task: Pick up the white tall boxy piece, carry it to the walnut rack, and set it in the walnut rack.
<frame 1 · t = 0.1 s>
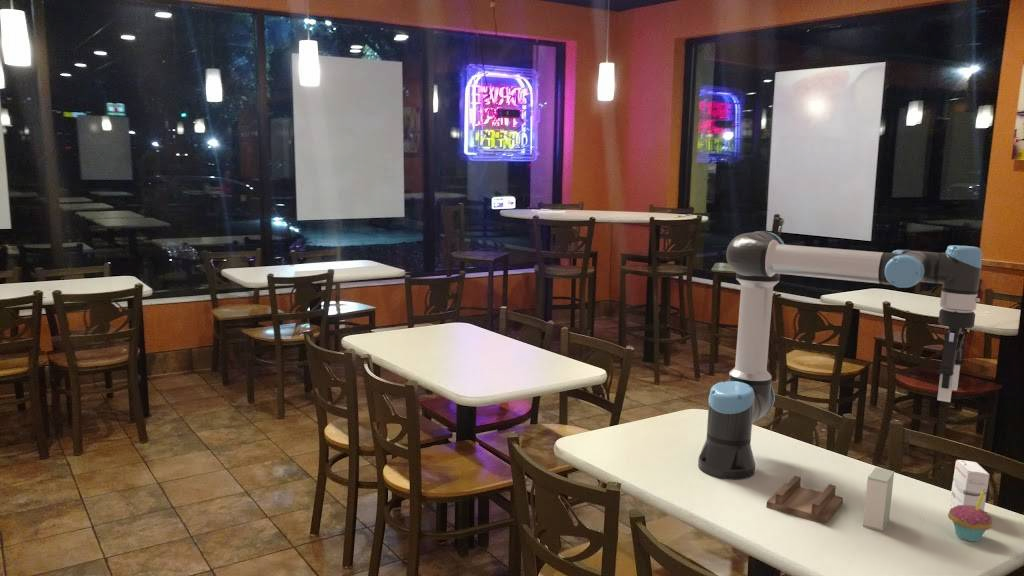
hand: (947, 395, 187), 28 cm above the table, tool pointing down, fingers open, 13 cm apart
white rectangular block: (966, 513, 186), on the table
white tall boxy piece: (876, 522, 179), on the table
cupcake: (967, 537, 173), on the table
walnut rack: (804, 505, 187), on the table
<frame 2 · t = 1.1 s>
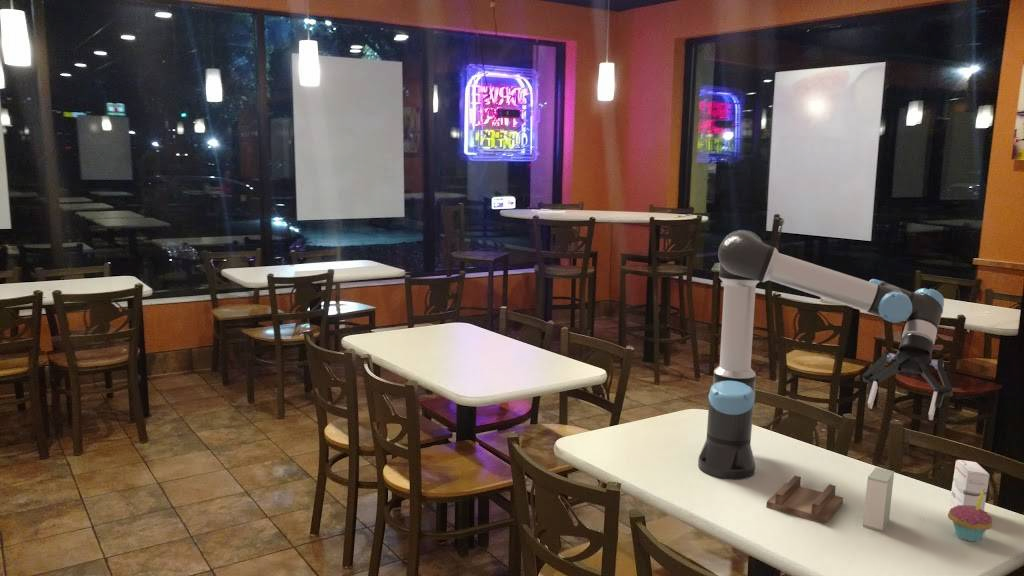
hand: (899, 411, 186), 24 cm above the table, tool tilted 45°, fingers open, 13 cm apart
nothing on the table moved.
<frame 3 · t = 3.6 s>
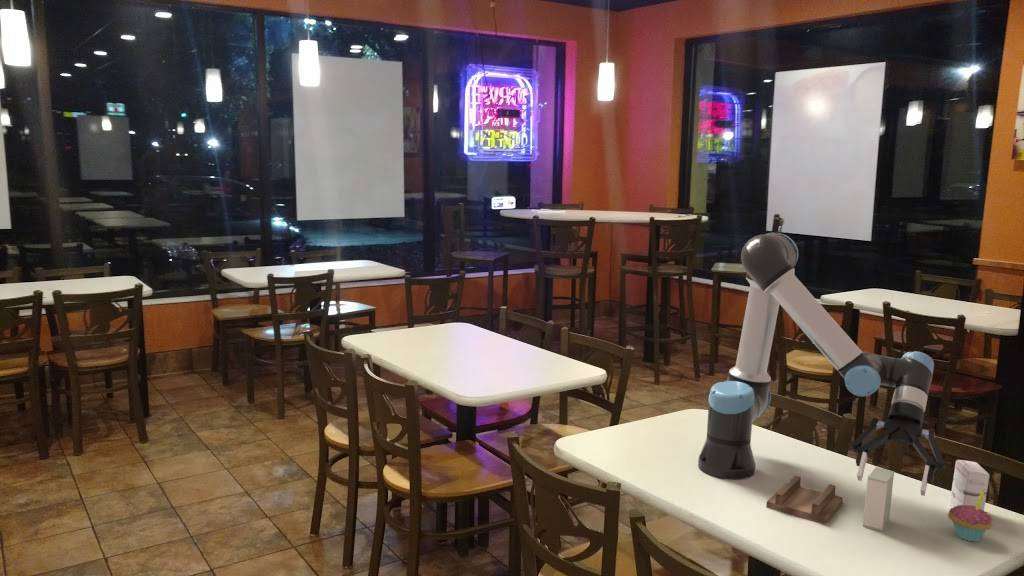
hand: (890, 485, 179), 8 cm above the table, tool tilted 45°, fingers open, 13 cm apart
nothing on the table moved.
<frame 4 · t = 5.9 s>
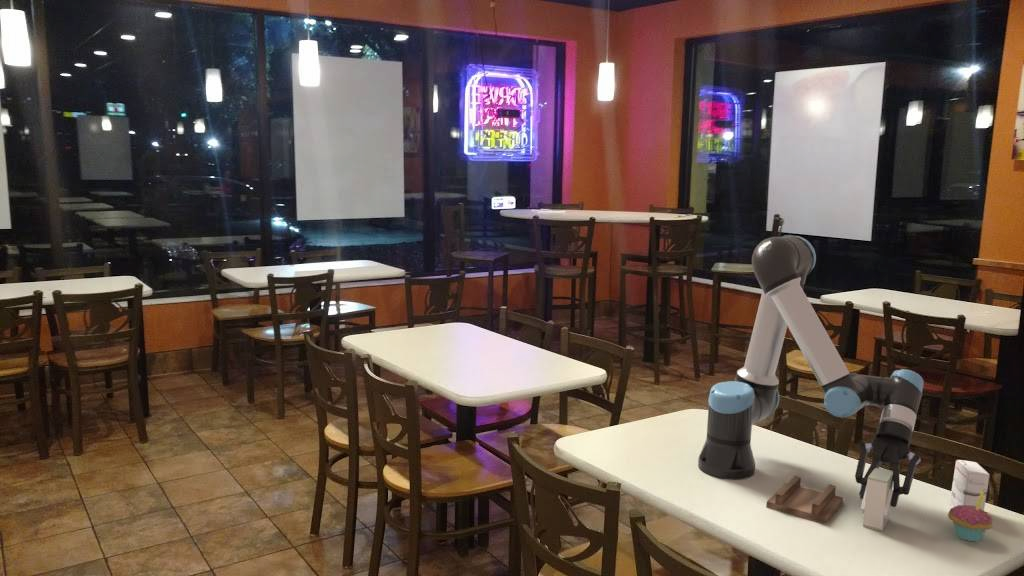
hand: (874, 514, 175), 3 cm above the table, tool tilted 45°, fingers closed on white tall boxy piece, 4 cm apart
white tall boxy piece: (876, 522, 179), on the table, touching gripper
everything else where it was.
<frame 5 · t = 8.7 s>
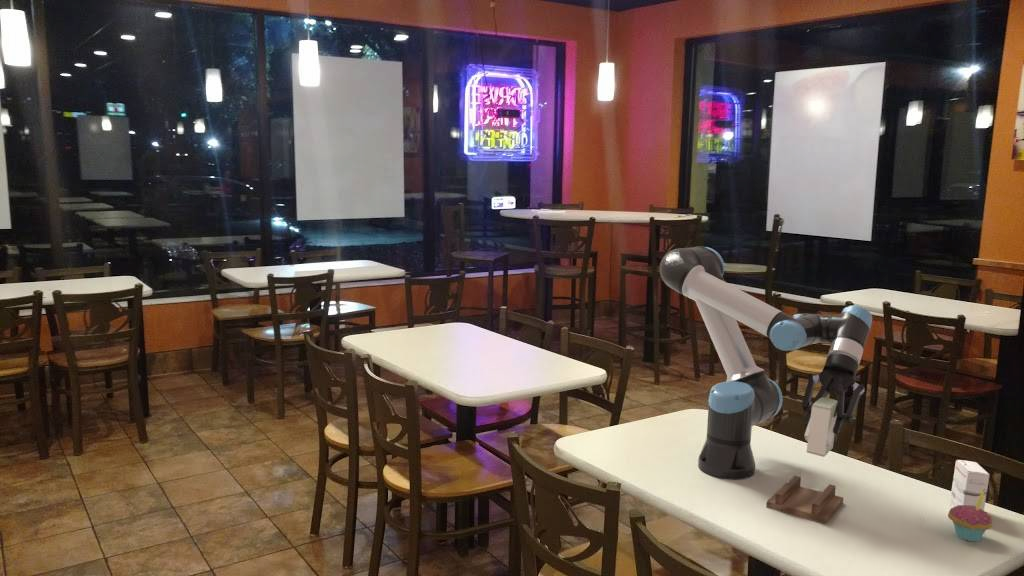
hand: (817, 440, 180), 18 cm above the table, tool tilted 45°, fingers closed on white tall boxy piece, 4 cm apart
white tall boxy piece: (819, 450, 184), point 15 cm above the table, touching gripper
everything else where it was.
when the fingers open (6 cm above the table, at t = 11.4 s): white tall boxy piece drops 1 cm, resting on walnut rack.
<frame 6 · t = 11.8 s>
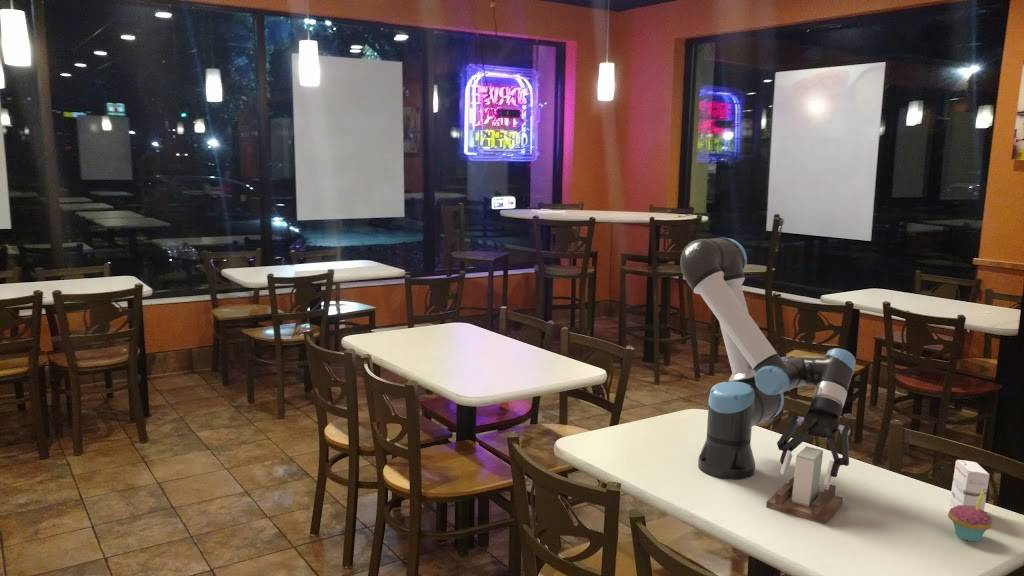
hand: (803, 481, 184), 7 cm above the table, tool tilted 45°, fingers open, 9 cm apart
white tall boxy piece: (805, 499, 187), point 2 cm above the table, touching walnut rack
everything else where it was.
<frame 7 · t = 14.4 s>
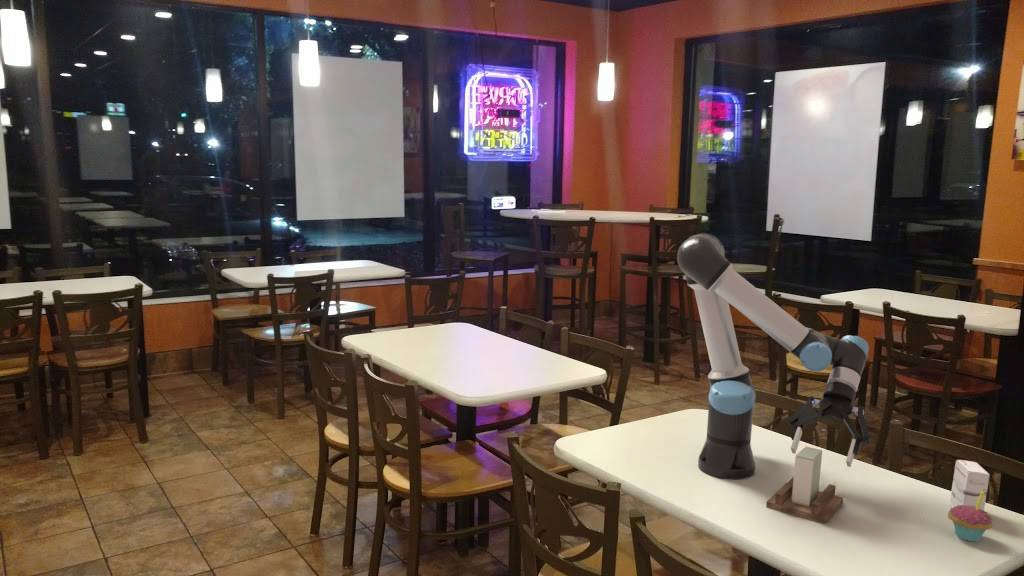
hand: (820, 457, 194), 9 cm above the table, tool tilted 45°, fingers open, 13 cm apart
nothing on the table moved.
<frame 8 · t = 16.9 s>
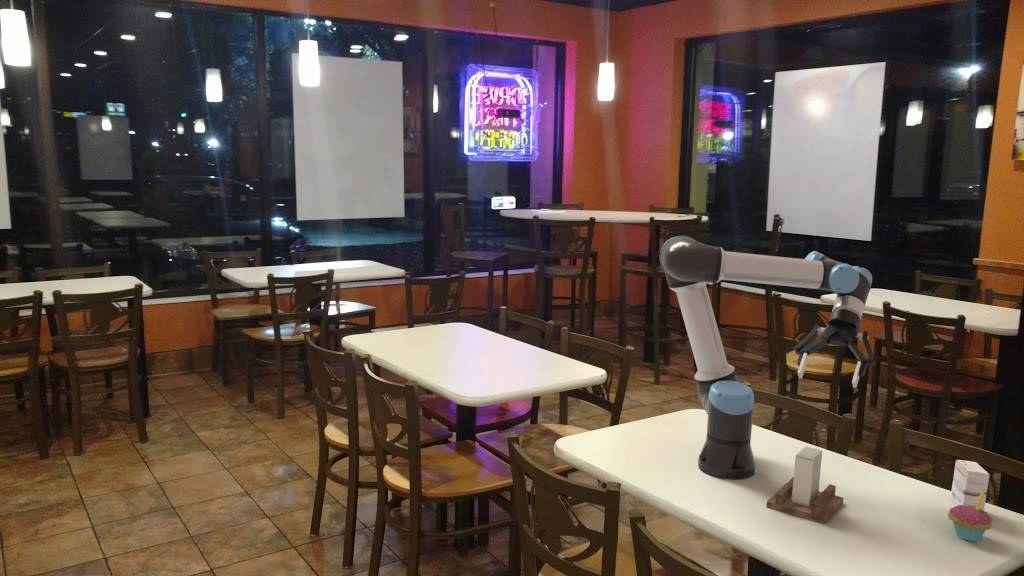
hand: (826, 380, 199), 28 cm above the table, tool tilted 45°, fingers open, 13 cm apart
nothing on the table moved.
at the end: white tall boxy piece inside the target area on the walnut rack (0.1 cm from its centre), point 1.5 cm above the walnut rack's base; white tall boxy piece tilted 0°; the gripper is holding nothing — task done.
